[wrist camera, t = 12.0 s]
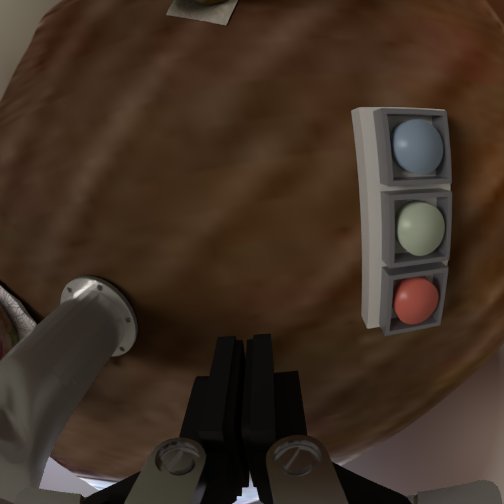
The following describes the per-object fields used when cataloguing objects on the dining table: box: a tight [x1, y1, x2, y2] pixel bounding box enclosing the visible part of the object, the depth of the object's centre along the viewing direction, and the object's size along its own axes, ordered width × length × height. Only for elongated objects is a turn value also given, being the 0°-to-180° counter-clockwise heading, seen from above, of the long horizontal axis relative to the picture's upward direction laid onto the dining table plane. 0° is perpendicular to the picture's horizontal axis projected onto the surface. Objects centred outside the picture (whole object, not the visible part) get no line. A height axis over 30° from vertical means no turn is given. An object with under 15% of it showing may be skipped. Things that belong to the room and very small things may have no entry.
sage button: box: [395, 200, 445, 256], centre depth 27 cm, size 5×5×2 cm
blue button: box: [390, 119, 443, 174], centre depth 25 cm, size 5×5×2 cm
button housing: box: [351, 107, 452, 336], centre depth 29 cm, size 24×10×6 cm, turn 8°
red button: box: [392, 276, 438, 324], centre depth 30 cm, size 5×5×2 cm
